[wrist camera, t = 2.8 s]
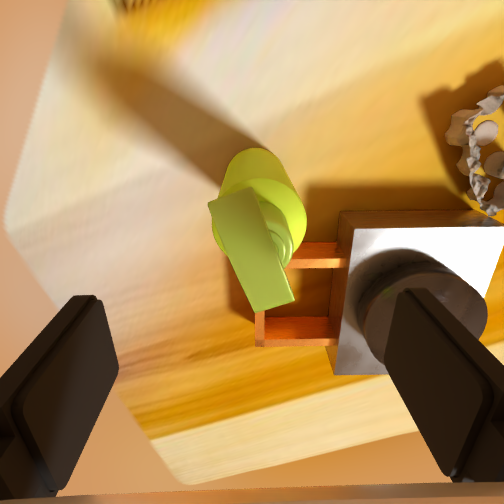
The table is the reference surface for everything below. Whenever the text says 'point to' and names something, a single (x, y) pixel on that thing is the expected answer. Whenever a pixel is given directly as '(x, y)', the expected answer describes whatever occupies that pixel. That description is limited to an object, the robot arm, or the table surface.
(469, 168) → the egg carton
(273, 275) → the soap dispenser
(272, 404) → the table surface
